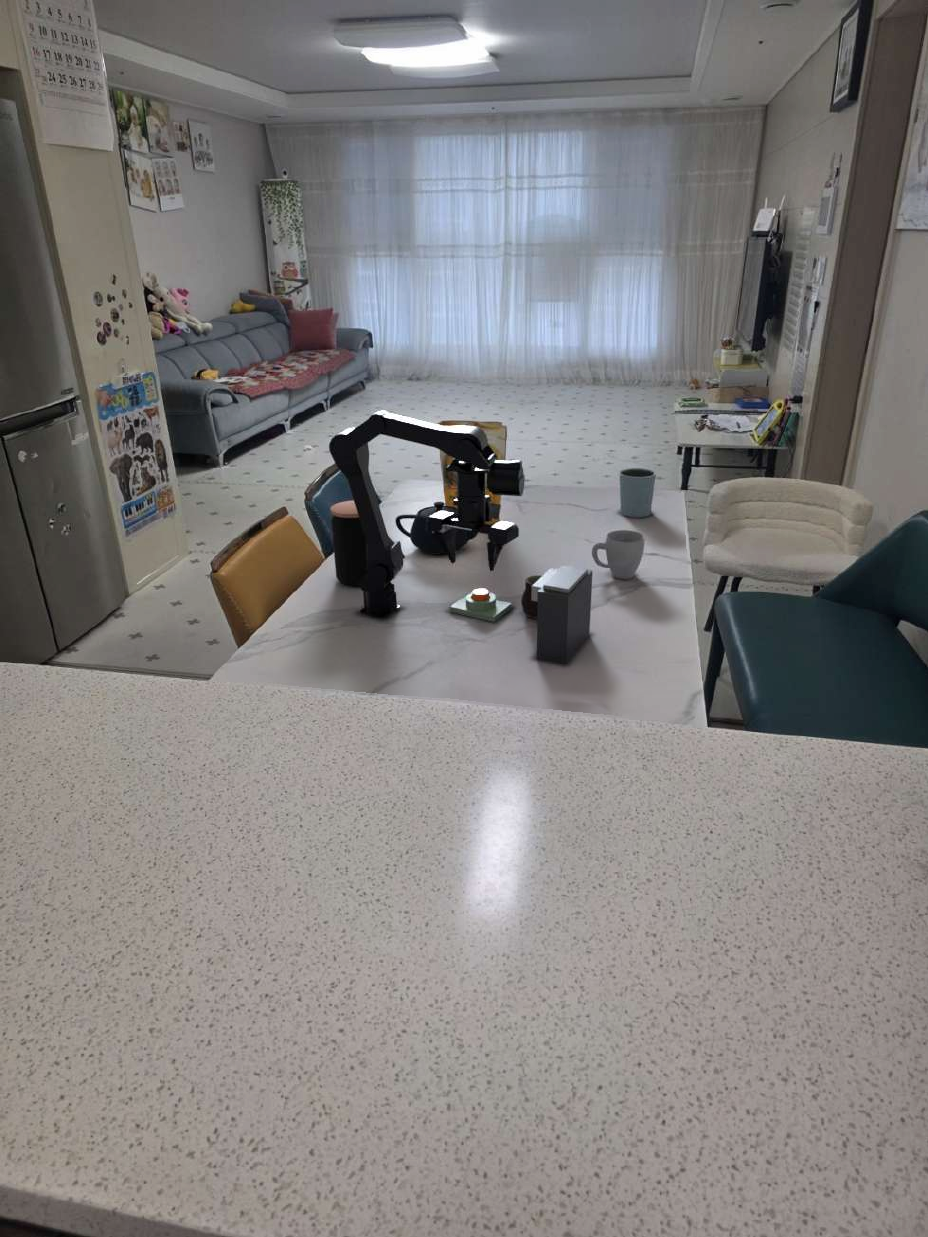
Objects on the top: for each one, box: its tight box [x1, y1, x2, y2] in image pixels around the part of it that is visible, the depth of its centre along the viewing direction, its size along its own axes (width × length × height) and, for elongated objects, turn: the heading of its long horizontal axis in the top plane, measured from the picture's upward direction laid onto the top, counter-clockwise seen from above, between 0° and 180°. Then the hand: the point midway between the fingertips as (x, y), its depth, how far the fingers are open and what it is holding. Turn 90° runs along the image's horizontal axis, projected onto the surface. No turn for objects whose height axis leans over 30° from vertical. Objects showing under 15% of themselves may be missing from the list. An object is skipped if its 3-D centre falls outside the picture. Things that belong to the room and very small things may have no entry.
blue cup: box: [618, 467, 657, 519], centre depth 235 cm, size 10×10×12 cm
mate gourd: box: [520, 574, 543, 619], centre depth 174 cm, size 7×8×10 cm
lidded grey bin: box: [532, 565, 593, 665], centre depth 160 cm, size 8×14×15 cm, turn 154°
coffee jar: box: [330, 500, 368, 588], centre depth 192 cm, size 11×11×18 cm
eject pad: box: [449, 592, 513, 623], centre depth 178 cm, size 11×8×3 cm
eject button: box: [471, 588, 490, 601], centre depth 177 cm, size 4×4×2 cm
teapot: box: [394, 501, 479, 555], centre depth 212 cm, size 25×16×12 cm, turn 81°
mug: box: [591, 529, 646, 580], centre depth 193 cm, size 12×9×10 cm
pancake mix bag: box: [436, 420, 508, 525], centre depth 229 cm, size 7×19×28 cm, turn 77°
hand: (472, 566), depth 169 cm, fingers open, 9 cm apart
